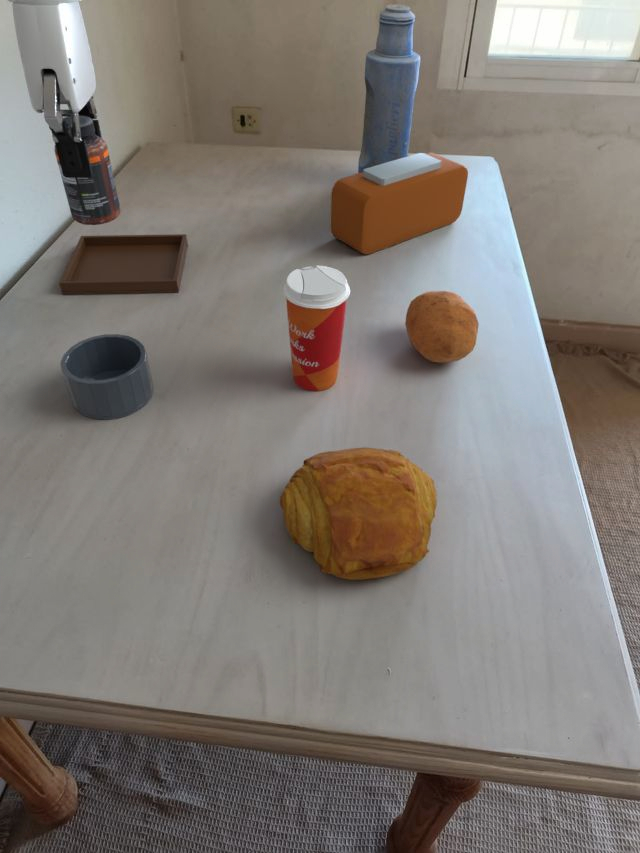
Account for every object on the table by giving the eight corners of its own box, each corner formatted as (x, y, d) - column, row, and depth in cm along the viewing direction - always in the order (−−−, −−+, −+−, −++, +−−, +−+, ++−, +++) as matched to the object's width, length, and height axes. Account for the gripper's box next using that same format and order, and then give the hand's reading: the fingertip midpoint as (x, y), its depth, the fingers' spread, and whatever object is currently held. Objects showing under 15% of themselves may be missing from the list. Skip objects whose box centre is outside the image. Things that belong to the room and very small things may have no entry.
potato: (466, 328, 89) (476, 281, 84) (480, 377, 81) (492, 329, 75) (401, 327, 89) (407, 279, 84) (408, 376, 80) (415, 327, 75)
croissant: (285, 489, 69) (272, 437, 64) (426, 470, 68) (425, 415, 63) (289, 604, 58) (274, 552, 53) (456, 583, 57) (458, 528, 52)
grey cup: (64, 421, 73) (51, 384, 70) (82, 370, 80) (71, 334, 77) (147, 418, 74) (139, 382, 70) (157, 368, 81) (150, 333, 77)
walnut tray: (62, 295, 94) (58, 283, 92) (83, 246, 105) (80, 235, 103) (178, 292, 95) (176, 280, 93) (187, 245, 106) (186, 234, 104)
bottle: (352, 175, 129) (361, 1, 108) (399, 172, 130) (416, 0, 110) (363, 194, 122) (375, 12, 102) (412, 191, 123) (433, 11, 103)
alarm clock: (428, 205, 119) (436, 142, 111) (461, 220, 114) (472, 156, 106) (329, 239, 108) (330, 173, 100) (360, 258, 103) (365, 190, 95)
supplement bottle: (109, 202, 82) (89, 109, 74) (129, 219, 78) (111, 122, 71) (64, 214, 79) (39, 118, 71) (83, 231, 75) (59, 132, 68)
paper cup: (277, 366, 82) (273, 269, 72) (332, 354, 84) (335, 258, 74) (297, 403, 76) (295, 303, 67) (355, 389, 78) (362, 291, 69)
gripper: (29, -33, 68) (70, 140, 80) (-28, -5, 56) (31, 195, 68) (100, -32, 68) (130, 140, 81) (58, -3, 56) (102, 195, 68)
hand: (84, 164), depth 74 cm, fingers closed on supplement bottle, 6 cm apart
